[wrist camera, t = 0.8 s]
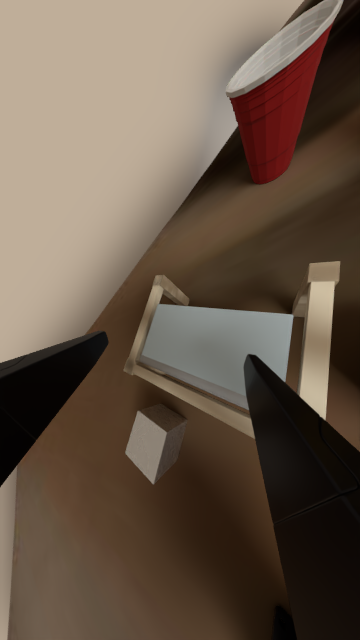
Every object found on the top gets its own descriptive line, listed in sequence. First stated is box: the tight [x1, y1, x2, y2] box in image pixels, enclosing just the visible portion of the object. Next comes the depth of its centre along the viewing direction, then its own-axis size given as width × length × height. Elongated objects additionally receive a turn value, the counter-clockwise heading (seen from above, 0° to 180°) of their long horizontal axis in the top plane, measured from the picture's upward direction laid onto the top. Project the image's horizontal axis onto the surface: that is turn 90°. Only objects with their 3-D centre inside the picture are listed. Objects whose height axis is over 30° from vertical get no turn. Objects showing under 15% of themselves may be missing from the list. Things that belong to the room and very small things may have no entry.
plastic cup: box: [226, 0, 343, 184], centre depth 20 cm, size 11×11×12 cm
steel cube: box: [125, 404, 187, 485], centre depth 18 cm, size 5×5×5 cm
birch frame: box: [123, 261, 340, 439], centre depth 17 cm, size 14×18×8 cm
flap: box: [140, 304, 293, 410], centre depth 14 cm, size 8×14×1 cm, turn 72°
